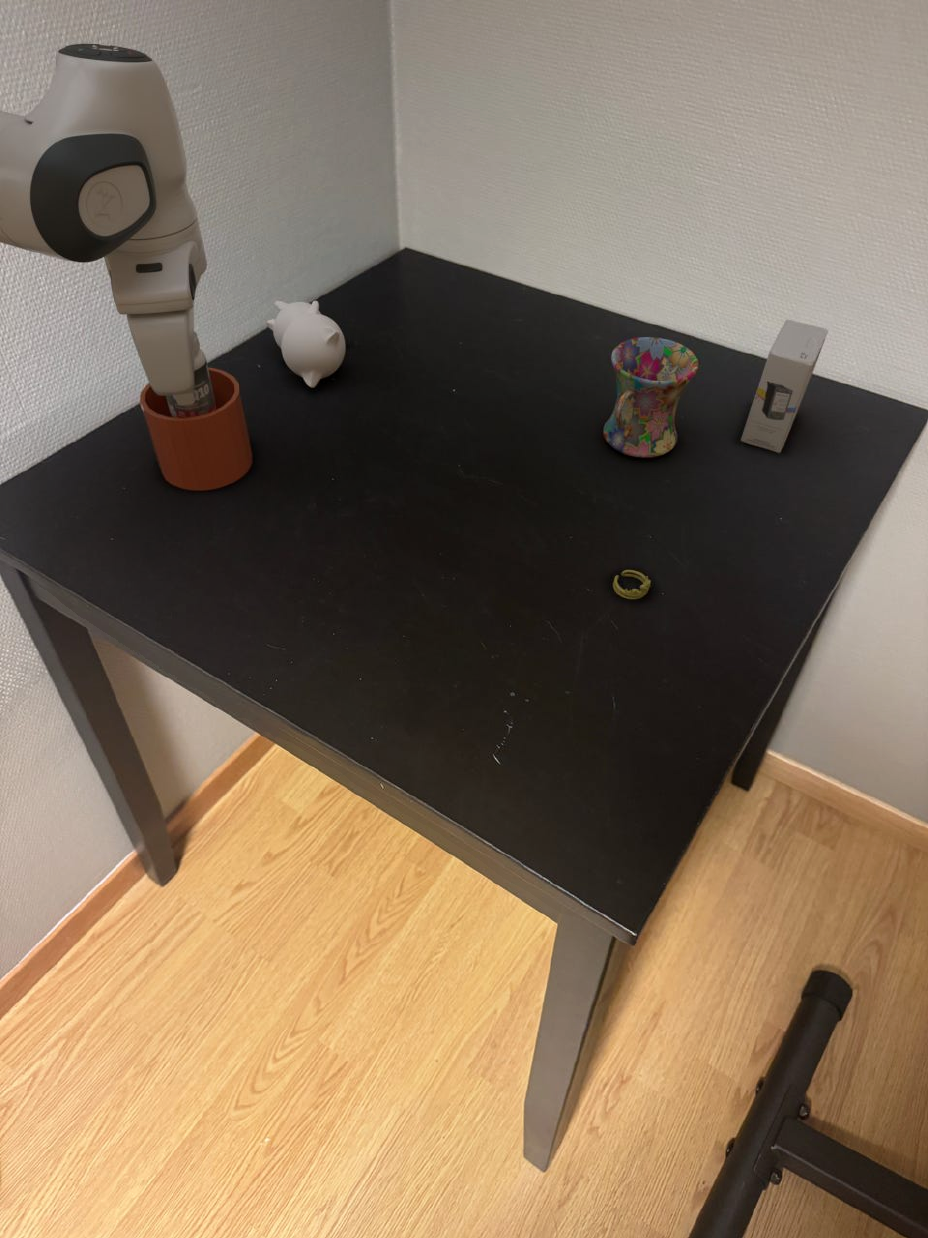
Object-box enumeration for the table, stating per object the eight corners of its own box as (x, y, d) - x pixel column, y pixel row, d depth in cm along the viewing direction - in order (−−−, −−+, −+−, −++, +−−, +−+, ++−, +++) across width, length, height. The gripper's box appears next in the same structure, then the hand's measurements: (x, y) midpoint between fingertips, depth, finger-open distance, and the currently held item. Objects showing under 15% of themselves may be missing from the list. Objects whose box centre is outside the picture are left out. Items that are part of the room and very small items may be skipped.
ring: (627, 609, 83) (639, 594, 81) (605, 584, 84) (616, 568, 81) (650, 593, 85) (663, 577, 82) (628, 569, 86) (640, 552, 83)
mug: (622, 409, 105) (637, 327, 97) (692, 436, 101) (713, 354, 93) (571, 456, 98) (582, 373, 90) (644, 487, 94) (662, 404, 87)
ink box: (756, 406, 106) (784, 315, 97) (797, 417, 104) (830, 326, 96) (738, 443, 100) (766, 351, 92) (781, 456, 99) (814, 363, 90)
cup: (160, 496, 92) (138, 425, 85) (162, 441, 99) (141, 371, 92) (255, 485, 94) (240, 414, 87) (250, 432, 100) (237, 362, 94)
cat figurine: (276, 276, 106) (311, 316, 99) (348, 305, 113) (386, 344, 106) (250, 341, 110) (282, 384, 103) (321, 365, 117) (356, 407, 110)
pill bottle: (177, 427, 89) (158, 354, 83) (165, 404, 92) (146, 331, 86) (222, 416, 90) (206, 343, 84) (209, 393, 93) (193, 321, 87)
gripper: (124, 207, 85) (157, 336, 95) (111, 306, 71) (152, 445, 82) (189, 203, 86) (216, 331, 96) (189, 300, 72) (220, 438, 83)
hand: (186, 384), depth 89 cm, fingers closed on pill bottle, 5 cm apart
